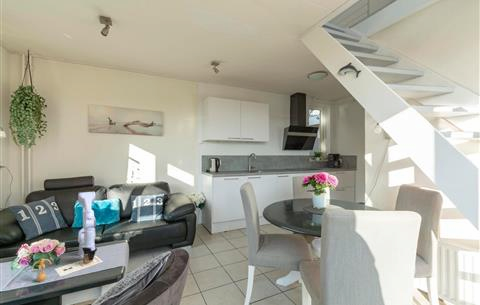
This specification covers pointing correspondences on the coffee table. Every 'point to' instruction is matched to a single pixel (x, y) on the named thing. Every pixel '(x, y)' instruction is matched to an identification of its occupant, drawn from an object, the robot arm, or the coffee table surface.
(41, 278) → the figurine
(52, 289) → the coffee table surface
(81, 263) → the card
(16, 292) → the coffee table surface
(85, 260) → the stained block
